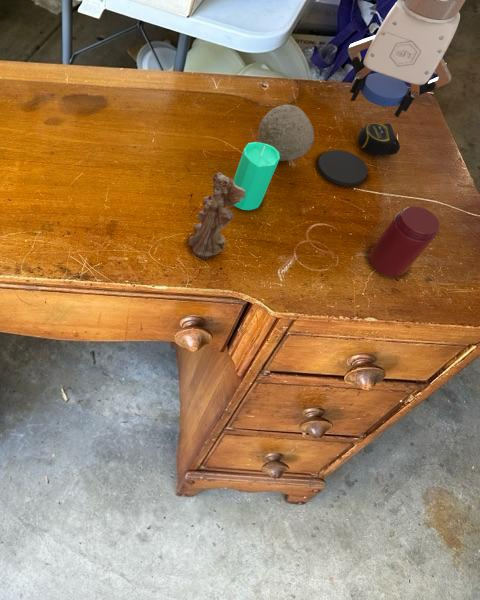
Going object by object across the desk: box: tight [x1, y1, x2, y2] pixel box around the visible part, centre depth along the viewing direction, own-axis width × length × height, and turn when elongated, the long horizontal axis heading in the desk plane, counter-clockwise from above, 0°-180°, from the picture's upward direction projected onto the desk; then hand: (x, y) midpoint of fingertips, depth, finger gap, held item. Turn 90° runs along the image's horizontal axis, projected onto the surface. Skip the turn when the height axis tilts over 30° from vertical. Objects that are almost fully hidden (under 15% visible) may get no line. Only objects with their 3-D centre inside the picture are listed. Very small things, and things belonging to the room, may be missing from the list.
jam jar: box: [368, 205, 440, 277], centre depth 91 cm, size 6×6×10 cm
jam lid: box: [360, 72, 409, 108], centre depth 94 cm, size 7×7×2 cm
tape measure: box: [357, 122, 401, 157], centre depth 110 cm, size 7×7×4 cm
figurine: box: [188, 171, 246, 259], centre depth 90 cm, size 7×6×15 cm
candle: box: [233, 141, 280, 211], centre depth 98 cm, size 6×6×12 cm
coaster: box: [317, 149, 368, 187], centre depth 108 cm, size 9×9×1 cm
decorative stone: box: [257, 103, 315, 162], centre depth 106 cm, size 10×8×10 cm
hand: (376, 103), depth 96 cm, fingers closed on jam lid, 6 cm apart
